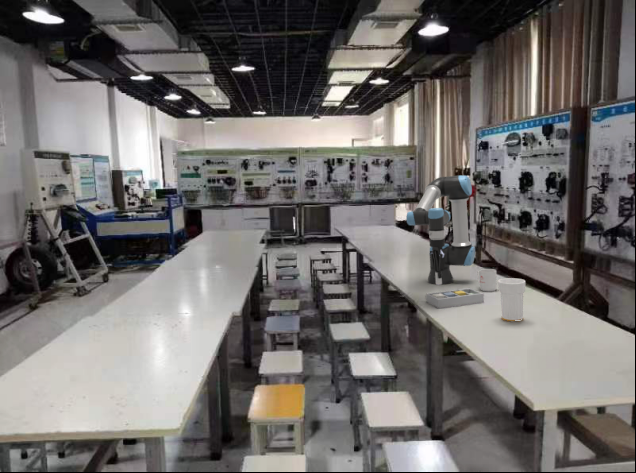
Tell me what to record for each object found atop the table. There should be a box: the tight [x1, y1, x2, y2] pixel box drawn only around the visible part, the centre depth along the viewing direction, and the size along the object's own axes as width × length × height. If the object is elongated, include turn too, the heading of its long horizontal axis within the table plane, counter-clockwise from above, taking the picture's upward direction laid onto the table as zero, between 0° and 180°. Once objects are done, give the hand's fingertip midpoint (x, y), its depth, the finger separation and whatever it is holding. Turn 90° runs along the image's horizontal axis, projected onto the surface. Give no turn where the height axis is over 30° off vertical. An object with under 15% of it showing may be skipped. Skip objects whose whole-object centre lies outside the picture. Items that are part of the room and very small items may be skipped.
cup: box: [497, 277, 526, 322], centre depth 211 cm, size 11×11×17 cm
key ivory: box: [432, 294, 444, 299], centre depth 243 cm, size 4×4×2 cm
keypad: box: [425, 287, 485, 309], centre depth 245 cm, size 14×25×5 cm, turn 102°
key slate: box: [443, 292, 455, 297], centre depth 244 cm, size 4×4×2 cm
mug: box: [476, 268, 498, 293], centre depth 266 cm, size 12×9×11 cm
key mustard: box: [454, 291, 466, 296], centre depth 245 cm, size 4×4×2 cm
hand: (438, 284), depth 242 cm, fingers closed
